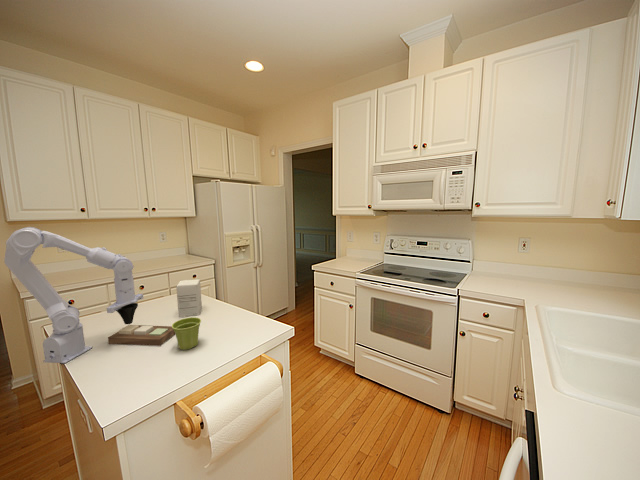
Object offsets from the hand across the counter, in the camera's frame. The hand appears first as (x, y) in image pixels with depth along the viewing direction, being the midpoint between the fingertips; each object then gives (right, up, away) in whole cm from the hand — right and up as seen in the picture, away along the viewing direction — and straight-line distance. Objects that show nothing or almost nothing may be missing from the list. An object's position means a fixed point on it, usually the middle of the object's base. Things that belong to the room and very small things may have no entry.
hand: (128, 323), depth 98 cm
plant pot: (+26, -7, -5) cm, 27 cm away
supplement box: (+12, -3, +24) cm, 27 cm away
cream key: (0, -4, +1) cm, 4 cm away
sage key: (+12, -5, 0) cm, 13 cm away
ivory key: (+6, -4, 0) cm, 7 cm away
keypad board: (+6, -6, 0) cm, 8 cm away
